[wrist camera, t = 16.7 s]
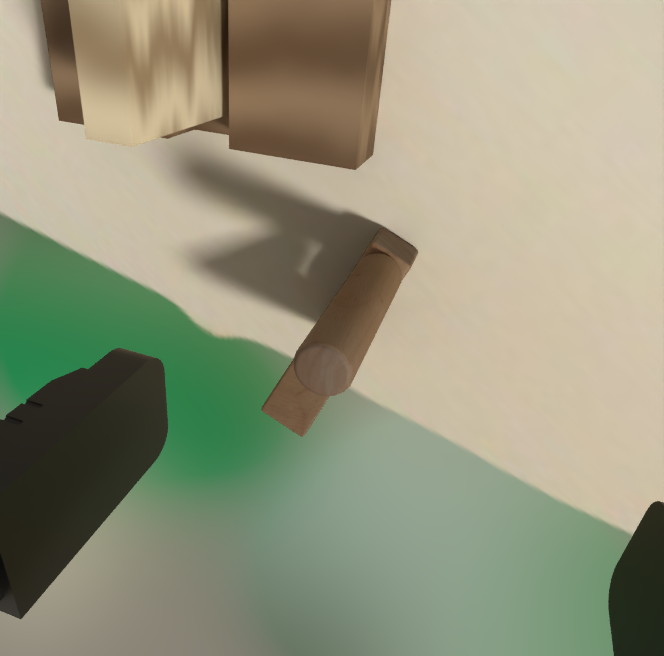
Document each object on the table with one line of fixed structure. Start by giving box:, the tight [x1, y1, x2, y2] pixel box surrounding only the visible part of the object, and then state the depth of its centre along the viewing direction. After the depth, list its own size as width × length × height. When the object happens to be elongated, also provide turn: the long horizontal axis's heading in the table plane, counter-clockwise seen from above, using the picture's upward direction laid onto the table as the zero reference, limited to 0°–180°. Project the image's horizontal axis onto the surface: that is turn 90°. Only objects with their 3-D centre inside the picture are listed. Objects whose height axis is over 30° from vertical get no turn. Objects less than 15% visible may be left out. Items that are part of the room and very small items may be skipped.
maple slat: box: [68, 0, 229, 147], centre depth 36 cm, size 10×3×14 cm, turn 175°
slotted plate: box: [41, 0, 391, 170], centre depth 40 cm, size 14×24×5 cm, turn 85°
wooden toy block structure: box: [261, 228, 418, 436], centre depth 41 cm, size 4×11×18 cm, turn 152°
